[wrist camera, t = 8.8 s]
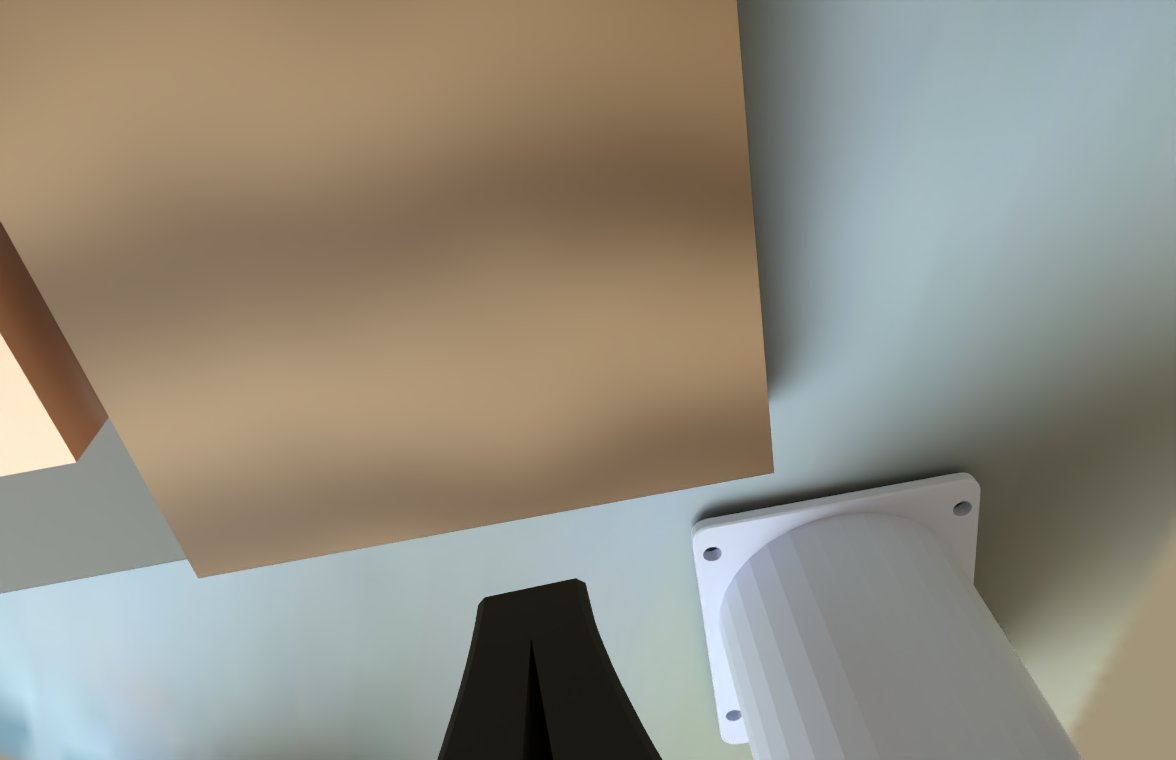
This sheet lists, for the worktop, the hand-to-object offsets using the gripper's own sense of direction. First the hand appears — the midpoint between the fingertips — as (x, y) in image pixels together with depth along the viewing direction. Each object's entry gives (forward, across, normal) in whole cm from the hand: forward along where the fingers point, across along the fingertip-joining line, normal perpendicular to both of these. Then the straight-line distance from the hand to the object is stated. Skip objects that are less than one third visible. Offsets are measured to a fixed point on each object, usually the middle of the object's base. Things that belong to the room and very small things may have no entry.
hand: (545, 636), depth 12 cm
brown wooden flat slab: (+11, +2, -2) cm, 11 cm away
